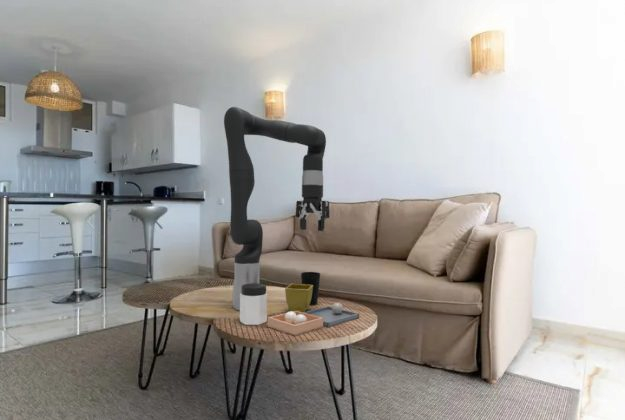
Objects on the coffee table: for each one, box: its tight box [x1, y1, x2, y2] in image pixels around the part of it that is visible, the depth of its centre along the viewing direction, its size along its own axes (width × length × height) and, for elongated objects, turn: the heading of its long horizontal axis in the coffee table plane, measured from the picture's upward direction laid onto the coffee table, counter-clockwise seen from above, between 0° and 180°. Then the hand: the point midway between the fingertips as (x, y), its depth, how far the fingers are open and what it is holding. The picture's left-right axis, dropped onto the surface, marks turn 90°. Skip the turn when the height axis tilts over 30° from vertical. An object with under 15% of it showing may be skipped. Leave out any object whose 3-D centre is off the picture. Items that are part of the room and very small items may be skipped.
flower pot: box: [284, 283, 313, 312], centre depth 146 cm, size 9×9×9 cm
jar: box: [239, 283, 268, 326], centre depth 131 cm, size 9×8×12 cm
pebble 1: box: [294, 314, 307, 325], centre depth 124 cm, size 4×4×4 cm
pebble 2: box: [331, 302, 344, 314], centre depth 140 cm, size 4×4×4 cm
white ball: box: [284, 310, 297, 324], centre depth 128 cm, size 4×4×4 cm
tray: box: [303, 305, 360, 328], centre depth 137 cm, size 14×16×2 cm
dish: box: [267, 311, 324, 337], centre depth 126 cm, size 12×12×3 cm
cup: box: [300, 271, 321, 306], centre depth 158 cm, size 8×8×12 cm
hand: (311, 230), depth 139 cm, fingers open, 8 cm apart
